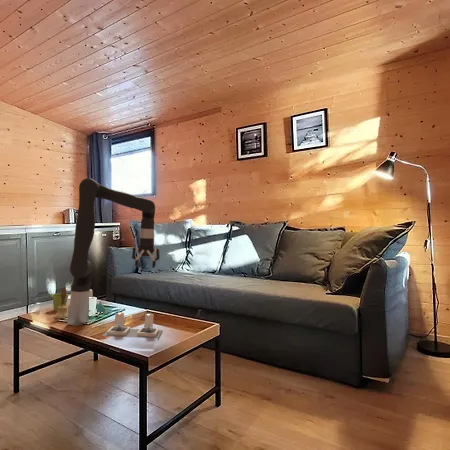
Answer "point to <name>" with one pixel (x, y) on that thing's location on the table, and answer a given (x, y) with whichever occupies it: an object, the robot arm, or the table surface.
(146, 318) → the block
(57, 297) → the plant pot
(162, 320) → the table surface
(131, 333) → the pallet board
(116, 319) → the block
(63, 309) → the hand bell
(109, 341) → the table surface
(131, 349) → the table surface
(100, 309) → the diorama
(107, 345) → the table surface
